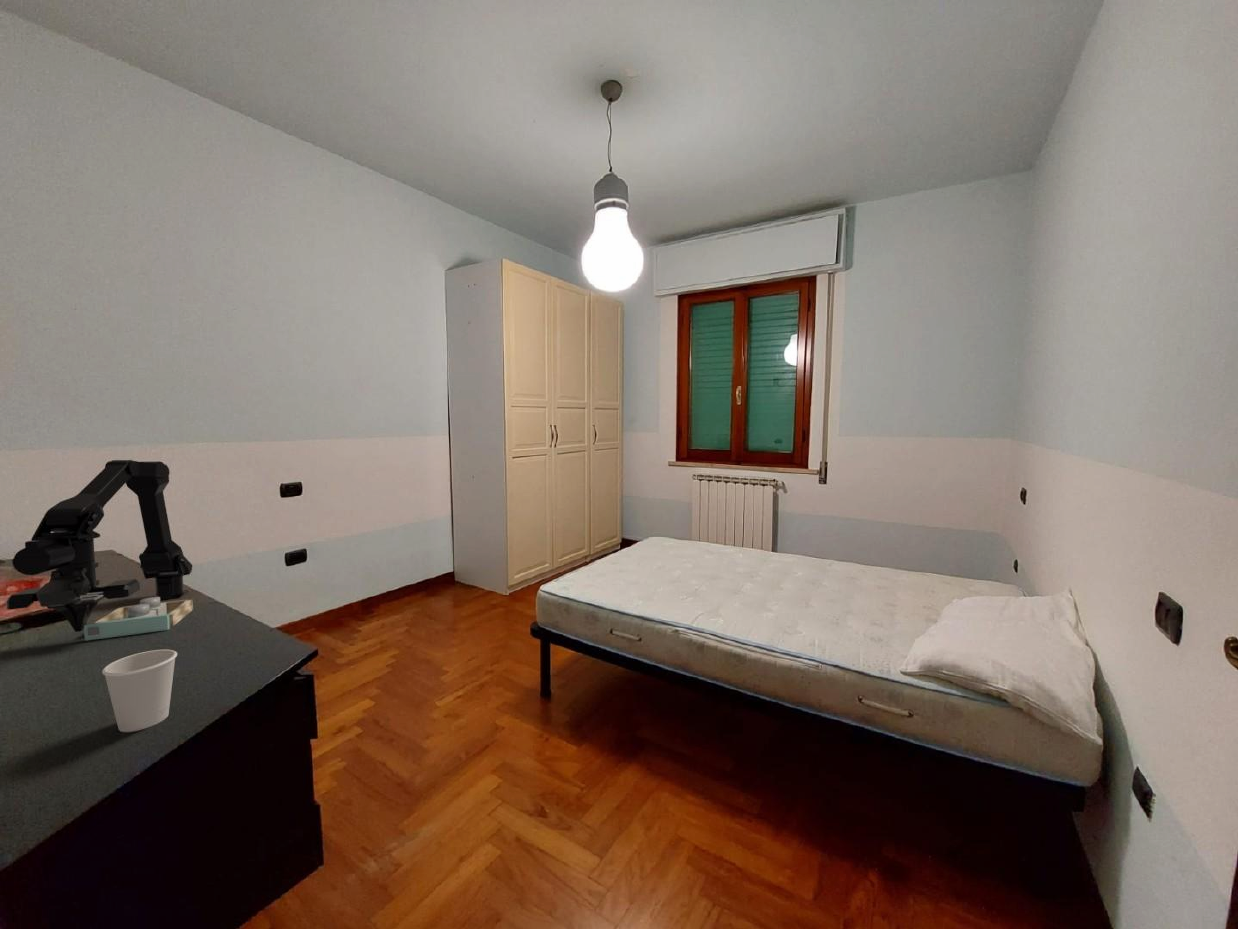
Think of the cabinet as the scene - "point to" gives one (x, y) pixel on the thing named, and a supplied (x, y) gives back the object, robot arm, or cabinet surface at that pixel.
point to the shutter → (126, 627)
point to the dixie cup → (141, 688)
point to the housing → (173, 607)
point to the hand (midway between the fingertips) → (79, 631)
